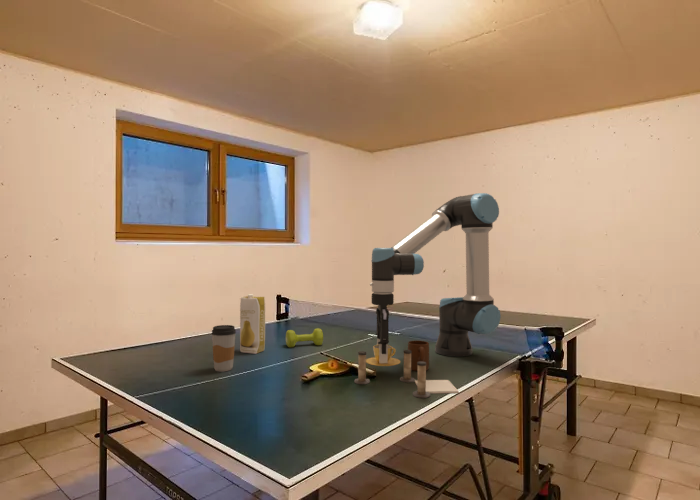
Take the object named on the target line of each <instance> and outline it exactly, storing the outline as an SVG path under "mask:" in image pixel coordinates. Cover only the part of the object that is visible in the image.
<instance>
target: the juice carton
mask: <svg viewBox="0 0 700 500" xmlns="http://www.w3.org/2000/svg"><path fill="white" fill-rule="evenodd" d="M239 311H240V313H239V346H240V347H239V349H240V351H239V352H241V353H245V354H253V355H256V354H259V353H261V352H264V351H265V347H266V346H265V345H266V297H265V296H255V294H254V293H249V294H247V295H246V296H241V297H240V305H239Z"/></svg>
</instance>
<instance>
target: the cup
mask: <svg viewBox="0 0 700 500" xmlns="http://www.w3.org/2000/svg"><path fill="white" fill-rule="evenodd" d="M372 350H373V355H374V356H373V357H368V358H366V364H368V365H372V366H376V367H377V366H378V367H392V366H396V365H399V364H401V360H400V359H398V358H395V357H393V356H395V355H396V351H397V350H396V348H395V347H393V346H391V345H390V344H388V363H379V345H377V344H375V345H373V346H372Z"/></svg>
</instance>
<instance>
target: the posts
mask: <svg viewBox="0 0 700 500" xmlns="http://www.w3.org/2000/svg"><path fill="white" fill-rule="evenodd" d="M411 353H412V351H411V350H408V349H403V376H401V377H399V381H400V382H402V383H407V384H408V383H409V384H411V383H415V380H417V385H416V386H417V388H416V389H417V390H415V391H413V392H412V396H413V397H415V398H418V399H428V398H430V397H431V393H429V392H426V380H427V370H426V362H423V361H419V362H417V365H418V371H417V379H416V378H415V377H413V376H412V370H411ZM357 355H358V364H357V365H358V369H357V371H358V378H355V379H354V384H357V385H369V384H370V383H371V380H370V379H369V378H367V363H366V359H367V351H363V350H362V351H358V352H357Z"/></svg>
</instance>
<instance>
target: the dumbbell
mask: <svg viewBox="0 0 700 500" xmlns="http://www.w3.org/2000/svg"><path fill="white" fill-rule="evenodd" d="M300 342H313V343H314V345H315V346H322V345H323V342H324V333H323V330H322V329H321V328H319V327H317V328H314V329H313V331H312V333H310V334H309V333H305V334H296V332H295V330H293V329H288V330H287V331H286V332H285V344H286V346H287V347H288V348H294V347H295V346H296V345H297V343H300Z"/></svg>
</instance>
